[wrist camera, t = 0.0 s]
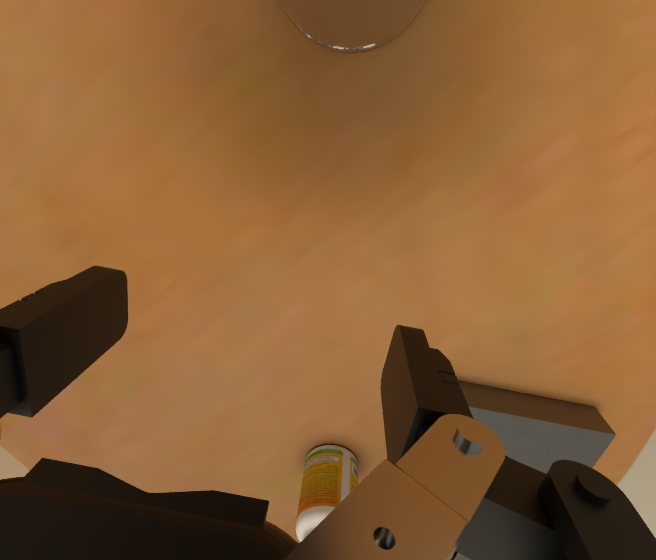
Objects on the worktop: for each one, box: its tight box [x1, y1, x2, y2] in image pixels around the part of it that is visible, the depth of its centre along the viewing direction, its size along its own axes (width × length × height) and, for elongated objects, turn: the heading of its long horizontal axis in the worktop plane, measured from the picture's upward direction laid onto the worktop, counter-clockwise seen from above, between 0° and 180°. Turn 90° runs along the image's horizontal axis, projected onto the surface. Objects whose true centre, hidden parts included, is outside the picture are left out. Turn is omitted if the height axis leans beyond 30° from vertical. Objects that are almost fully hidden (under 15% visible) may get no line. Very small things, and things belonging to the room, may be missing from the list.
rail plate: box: [455, 381, 616, 560], centre depth 36 cm, size 22×14×3 cm, turn 170°
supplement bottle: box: [296, 445, 358, 542], centre depth 34 cm, size 5×5×10 cm
